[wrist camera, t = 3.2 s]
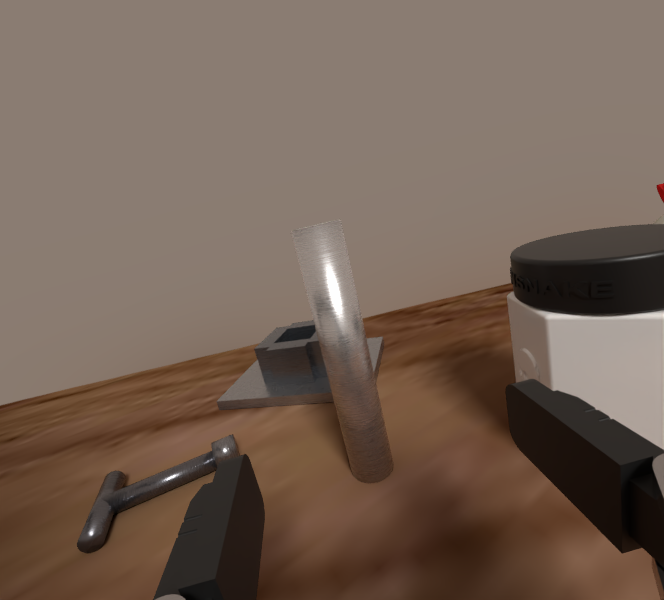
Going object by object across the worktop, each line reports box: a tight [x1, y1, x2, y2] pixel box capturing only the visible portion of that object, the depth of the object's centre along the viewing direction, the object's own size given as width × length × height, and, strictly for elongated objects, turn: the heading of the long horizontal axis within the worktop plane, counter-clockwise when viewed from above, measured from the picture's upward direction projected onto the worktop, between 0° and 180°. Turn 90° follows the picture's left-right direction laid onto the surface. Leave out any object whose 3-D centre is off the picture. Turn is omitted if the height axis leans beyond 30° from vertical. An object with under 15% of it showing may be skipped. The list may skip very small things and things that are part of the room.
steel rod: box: [291, 219, 393, 483], centre depth 20 cm, size 3×3×16 cm
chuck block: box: [217, 320, 384, 410], centre depth 37 cm, size 16×12×5 cm
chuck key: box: [77, 434, 240, 553], centre depth 25 cm, size 10×6×2 cm, turn 111°
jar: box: [507, 224, 664, 450], centre depth 19 cm, size 9×8×12 cm
